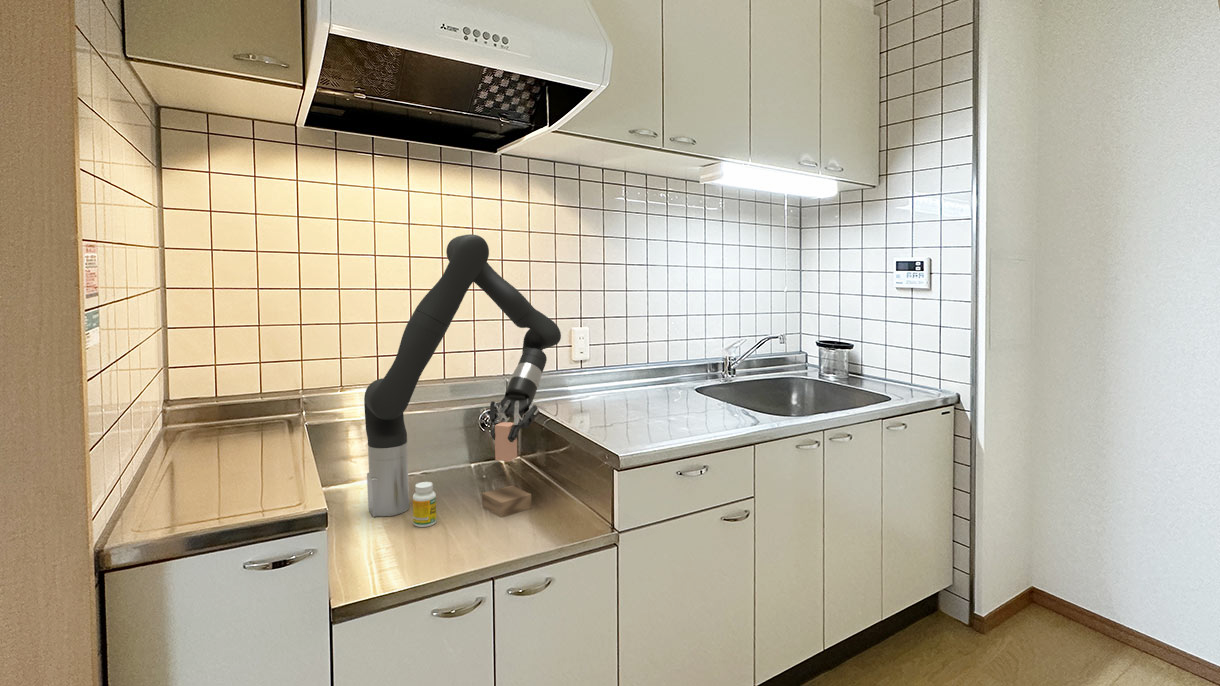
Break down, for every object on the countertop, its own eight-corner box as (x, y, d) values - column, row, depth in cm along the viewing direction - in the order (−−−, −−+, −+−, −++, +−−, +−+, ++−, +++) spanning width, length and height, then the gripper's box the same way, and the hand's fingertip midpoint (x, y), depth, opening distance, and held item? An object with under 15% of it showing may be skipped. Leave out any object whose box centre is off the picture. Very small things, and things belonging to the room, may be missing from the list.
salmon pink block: (509, 461, 148) (508, 426, 147) (495, 460, 149) (494, 425, 148) (517, 457, 152) (516, 422, 151) (503, 455, 153) (502, 421, 152)
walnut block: (501, 518, 146) (501, 502, 145) (482, 508, 152) (482, 493, 152) (531, 509, 152) (531, 494, 151) (512, 499, 158) (511, 485, 158)
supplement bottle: (417, 518, 144) (415, 480, 143) (439, 518, 145) (438, 480, 144) (410, 527, 139) (409, 488, 138) (433, 527, 139) (432, 488, 138)
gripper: (495, 373, 158) (471, 429, 148) (543, 377, 153) (522, 434, 143) (505, 389, 163) (483, 444, 153) (552, 393, 159) (532, 449, 148)
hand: (502, 439), depth 148 cm, fingers closed on salmon pink block, 4 cm apart
